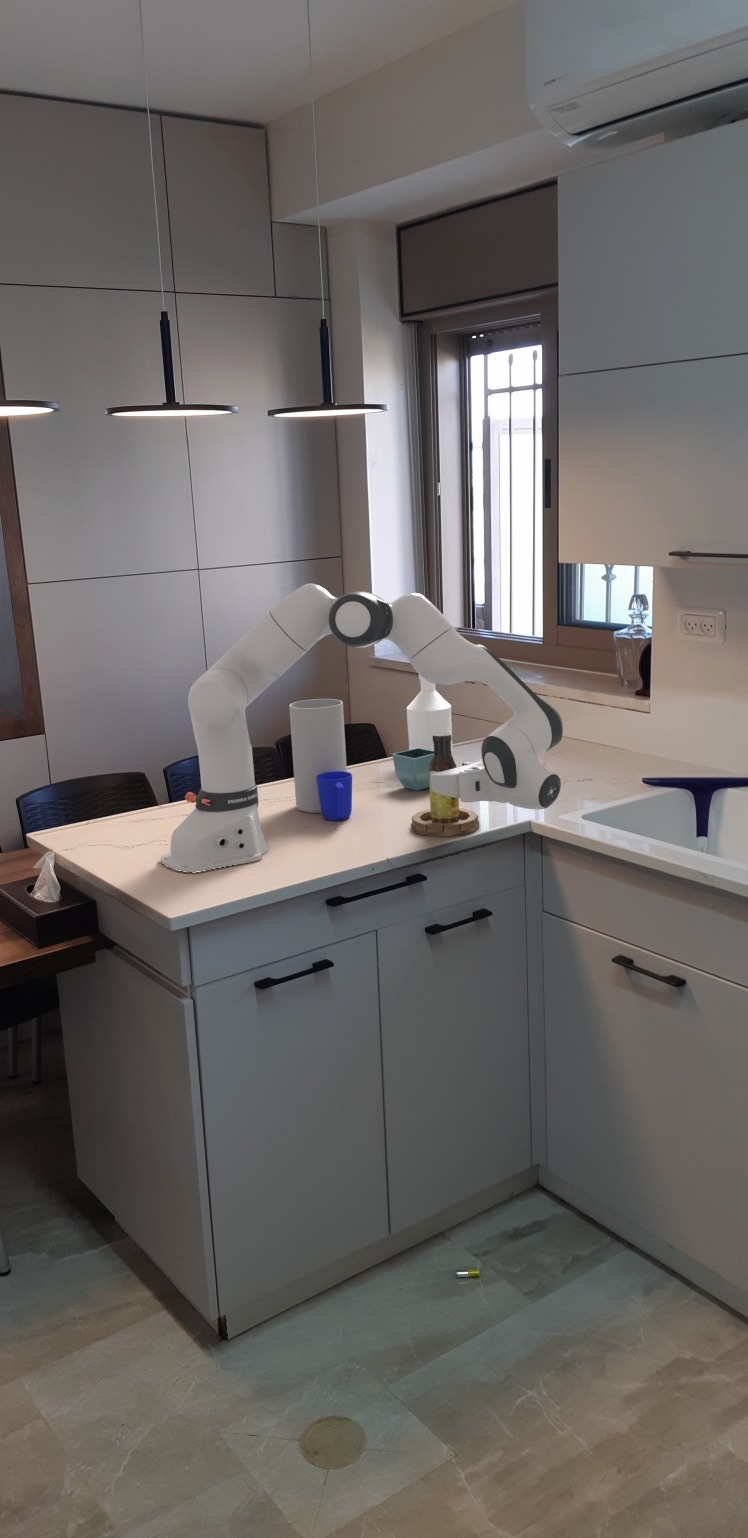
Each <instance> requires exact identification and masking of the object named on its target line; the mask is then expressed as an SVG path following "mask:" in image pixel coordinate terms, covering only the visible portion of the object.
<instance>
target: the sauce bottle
mask: <svg viewBox="0 0 748 1538" xmlns="http://www.w3.org/2000/svg"><path fill="white" fill-rule="evenodd" d="M451 740H452V741H453V738H452V739H451V734H449V733H438V734H433V743H434V757H433V759H432V760H431V762H430V765H429V770H430V772H431V771H434V770H437V771H440V772H442V771H445V770H449V769H453V768H457V767H458V766H457V764H456V762H455V759H454V757H453V751H452V752H451ZM451 753H452V754H451ZM429 784H430V787H429V802H430V803H429V804H430V806H429V807H430V810H431V819H432V820H431V821H432V823H443V824H444V823H455V822H459V808H460V801H459V800H460V798H453V797H448V796H445V795H441V794H438V793H435V792H433V791H432V789H431V778H430V777H429Z"/></svg>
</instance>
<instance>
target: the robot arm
mask: <svg viewBox="0 0 748 1538" xmlns="http://www.w3.org/2000/svg"><path fill="white" fill-rule="evenodd" d="M328 635H333V636H334V638H335V639H336V640H337V641H339V642H340V643H341V644H343V645H345V646H347V647H350V648H351V647H352V648H359V649H360V648H361V649H362V648H367V647H370V646H373V645H376V644H378V643H380V642H381V641H383V640H387V641H390V642H391V643H393V644H394V645H395V646H396V647H397V648H398V649H399V650H400V651H401V653H402V654H403V655H404V657H405V658H406V660H408V661H409V664H411V667H413V669H414V670H415V671H416V672H417V674H418V676H419V675H420V676H421V677H422V678H424V679H425V680H426V681H428V682H430V683H433V684H435V685H441V686H447V685H448V686H449V685H456V684H460V683H463V682H472V681H473V682H480V683H483V684H485V685H486V686H488V687H489V688H490V689H491V690H492V691H493V692H494V693H495V694H496V695H497V696H498V697H499V698H500V699H501V700H502V701H503V702H504V703H506V705H507V706H508V707H510V709H511V710H512V711H513V716H511V717H510V718H509V719H508V720H506V721H505V722H504V723H503V724H501V725H500V726H499V725H498V727H497V728H496V729H494V730H493V731H492V732H491V733H490V734H489V735H487V736H486V737H485V738H484V739H483V740H482V744H481V759H482V760H481V761H477V762H476V761H473V762H471V761H465V762H462V763H461V766H456V767H457V768H453V769H449V770H445V771H442V772H440V771H437V770H434V771H431V772H430V778H431V789H432V791H433V792H435V793H438V794H441V795H445V796H448V797H453V798H459V800H460V801H459V802H462V803H466V804H467V803H476V802H490V803H491V802H495V803H500V804H509V805H511V806H514V807H517V808H522V809H528V810H535V811H536V810H544V809H548V808H549V807H550V806H551V805H553V804H554V803H555V801H557V799H558V797H559V795H560V792H561V789H562V788H561V787H562V782H561V777H560V775H558V774H557V773H556V772H555V771H553V770H550V769H547V768H546V767H545V766H544V765H543V764H542V762H540V761H539V759H538V758H540V757H541V756H542V755H543V754H544V753H546V752H548V751H549V750H551V749H553V748H554V747H555V746H557V745H559V743H561V741H562V738H563V734H564V733H563V732H564V731H563V730H564V726H563V720H562V717H561V715H560V714H559V712H558V711H557V710H556V709H555V708H554V707H553V706H552V705H551V704H549V703H548V702H546V701H545V700H543V699H542V698H541V697H539V696H538V695H537V694H536V693H535V692H534V691H533V690H532V689H531V688H530V687H529V686H528V685H527V684H526V683H525V682H524V681H523V680H522V679H521V678H520V677H519V676H518V675H516V673H515V672H514V671H513V670H512V669H511V668H510V667H509V666H507V664H506V663H505V662H504V661H502V660H501V658H500V657H498V656H497V655H496V653H494V652H493V651H491V649H488V647H486V646H484V645H482V644H474V643H472V642H470V641H469V640H467V639H466V638H465V637H464V636H462V635H461V634H460V633H459V632H458V631H457V630H456V629H455V628H454V627H453V625H452V624H451V623H450V621H449V620H448V619H447V618H446V617H445V615H444V614H443V613H442V612H441V611H440V610H439V609H438V608H437V607H436V606H435V605H434V604H433V603H432V602H431V601H430V600H429V599H428V598H427V597H425V596H424V595H423V594H421V593H417V592H410V593H408V594H404V595H402V596H400V597H398V598H397V599H395V600H394V601H392V602H387V601H385V600H383V598H382V597H380V596H378V595H376V594H374V593H372V592H368V591H361V590H360V591H351V592H347V593H345V594H342V595H340V597H335V596H333V595H332V594H331V593H330V592H329V591H328V590H327V589H325V588H324V587H323V586H320V585H318V584H315V583H306V584H304V585H301V586H300V587H298V588H297V589H295V590H294V591H292V592H290V593H289V594H288V595H287V596H286V597H284V598H283V599H281V600H280V601H279V602H278V603H277V604H276V605H274V606H273V607H272V608H271V609H270V610H269V611H268V612H267V613H266V614H264V616H263V617H261V618H260V619H259V620H258V621H257V622H256V623H255V624H254V625H253V626H252V627H251V628H250V629H249V630H248V631H247V632H246V633H245V634H244V635H243V636H241V637H240V639H238V640H237V642H235V644H234V645H232V647H230V648H229V649H228V650H227V651H226V652H225V653H224V654H223V655H222V656H221V657H220V658H219V659H217V661H216V662H215V663H213V665H212V666H210V667H209V668H208V669H207V670H206V671H205V672H204V673H203V674H202V675H201V676H199V677H198V678H197V679H196V680H195V681H194V682H193V683H192V685H191V687H190V689H189V693H188V697H187V705H188V710H189V713H190V718H191V719H190V720H191V725H192V729H193V730H192V731H193V735H194V739H195V743H196V748H197V752H198V753H197V754H198V763H199V764H198V765H199V774H200V784H201V788H200V789H199V792H198V793H197V794H196V793H193V792H191V791H189V792H186V795H184V796H185V797H184V799H185V801H187V802H188V803H192V804H194V803H195V808H194V809H193V810H192V811H191V812H190V813H189V814H188V816H186V818H185V819H183V821H182V822H181V823H180V824H179V825H177V827H176V828H175V829H174V830H173V831H172V834H171V837H170V838H171V839H170V852H168V853H164V854H162V855H161V856H160V863H161V862H162V864H164V865H166V866H168V867H170V868H173V869H177V870H181V871H186V872H196V871H203V870H209V869H213V868H219V867H224V868H226V867H225V866H229V867H233V866H232V865H234V866H237V865H238V864H239V865H243V864H247V863H253V862H258V861H260V860H262V858H263V855H264V854H265V853H266V852H267V851H268V849H269V848H268V845H267V842H266V840H265V837H264V834H263V831H262V826H261V821H260V816H259V811H258V807H259V792H258V785H257V784H256V782H255V769H254V768H255V767H254V759H253V756H254V755H253V747H252V745H251V741H250V734H249V729H248V724H247V717H246V708H247V707H248V706H249V705H250V704H251V703H252V702H253V701H254V700H255V699H257V698H258V697H259V696H260V695H261V694H262V693H263V692H265V690H266V689H268V688H269V687H270V686H271V685H273V683H275V682H276V681H277V680H278V679H279V678H281V677H282V675H283V674H285V673H286V672H287V671H288V670H289V669H290V668H291V667H292V666H293V665H294V664H295V663H296V662H298V661H299V660H300V659H301V658H302V657H303V656H304V655H305V654H306V653H307V652H308V651H309V650H311V648H312V647H313V646H314V645H315V644H316V643H318V642H319V641H320V640H321V639H323V638H324V637H326V636H328ZM162 864H161V865H162ZM164 865H163V866H164ZM219 869H220V868H219ZM209 871H210V870H209Z"/></svg>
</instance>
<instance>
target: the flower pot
mask: <svg viewBox="0 0 748 1538" xmlns="http://www.w3.org/2000/svg"><path fill="white" fill-rule="evenodd" d="M391 756H392V762H393V766H394V770H395V774H396V777H397V778H398V781H399V782H400V783H401V785H402V787H403V788H404V789H409V790H411V791H412V790H413V791H421V790H424V789H428V788H429V789H430V784H429V777H430V770H429V765H430V762H431V760H432V759H433V757H434V751H431V750H426V749H421V748H416V749H411V750H409V749H407V750H403V751H400V752H394V753H392V755H391Z"/></svg>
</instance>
